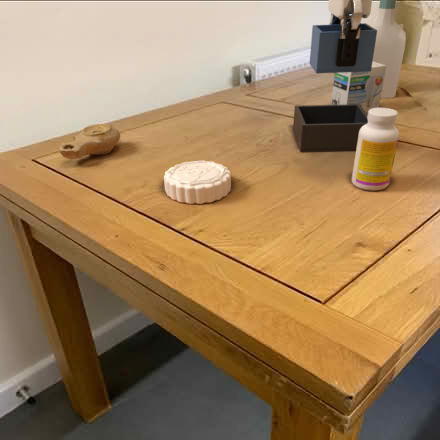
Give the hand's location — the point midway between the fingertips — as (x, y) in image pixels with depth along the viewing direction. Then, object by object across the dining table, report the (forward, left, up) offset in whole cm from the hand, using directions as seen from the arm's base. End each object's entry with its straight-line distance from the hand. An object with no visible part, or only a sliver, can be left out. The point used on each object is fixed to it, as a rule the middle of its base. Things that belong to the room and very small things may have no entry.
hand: (340, 59), depth 79 cm
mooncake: (+25, +8, -20) cm, 33 cm away
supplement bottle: (-7, +7, -20) cm, 22 cm away
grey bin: (-3, -16, -19) cm, 25 cm away
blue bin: (0, 0, -1) cm, 1 cm away
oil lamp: (+48, -10, -20) cm, 53 cm away
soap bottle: (-21, -50, -20) cm, 58 cm away
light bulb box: (-13, -37, -20) cm, 44 cm away
